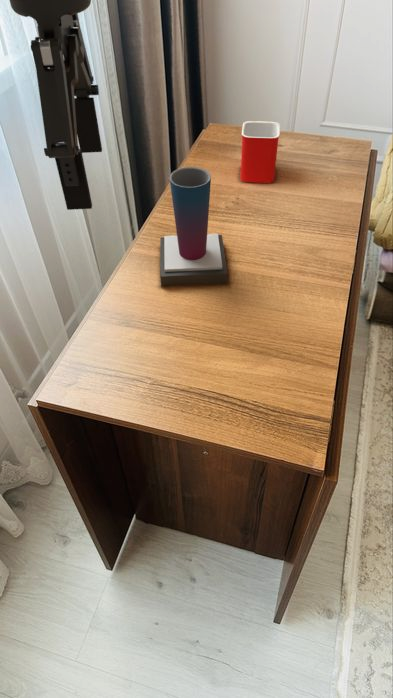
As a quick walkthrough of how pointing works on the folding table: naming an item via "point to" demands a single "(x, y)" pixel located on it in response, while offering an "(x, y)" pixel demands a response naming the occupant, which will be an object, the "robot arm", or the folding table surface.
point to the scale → (192, 264)
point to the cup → (191, 210)
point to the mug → (259, 151)
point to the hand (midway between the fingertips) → (86, 177)
